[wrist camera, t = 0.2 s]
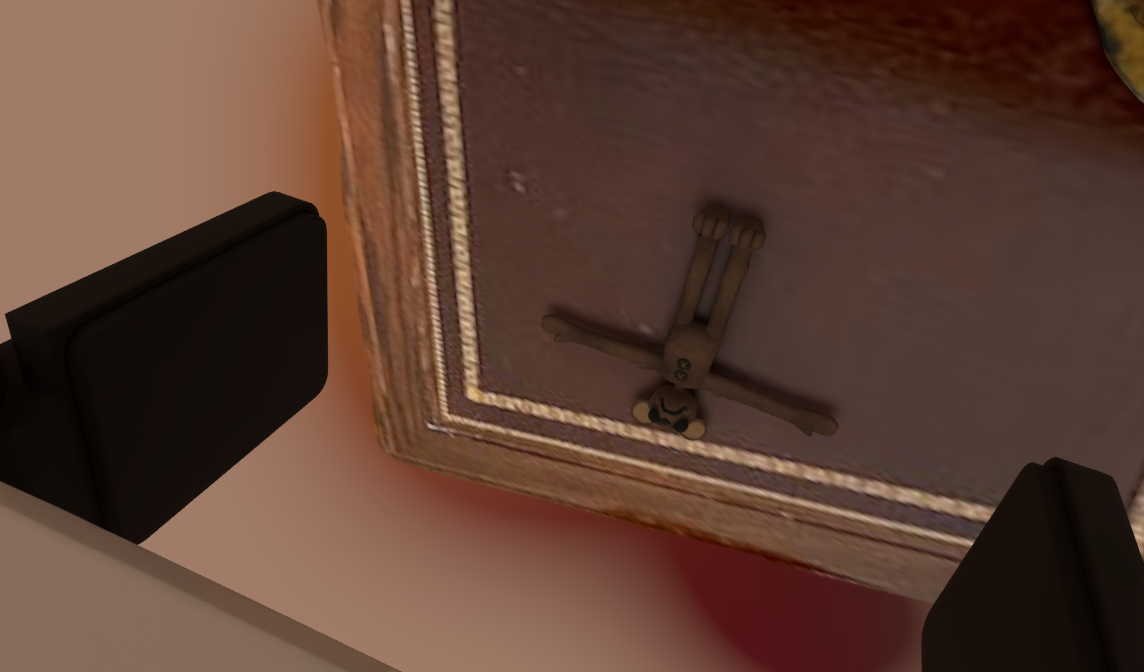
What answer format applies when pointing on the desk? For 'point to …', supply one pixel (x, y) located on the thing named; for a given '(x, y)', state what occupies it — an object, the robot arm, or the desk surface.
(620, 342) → the brown thin branching figure
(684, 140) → the desk surface
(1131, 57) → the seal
